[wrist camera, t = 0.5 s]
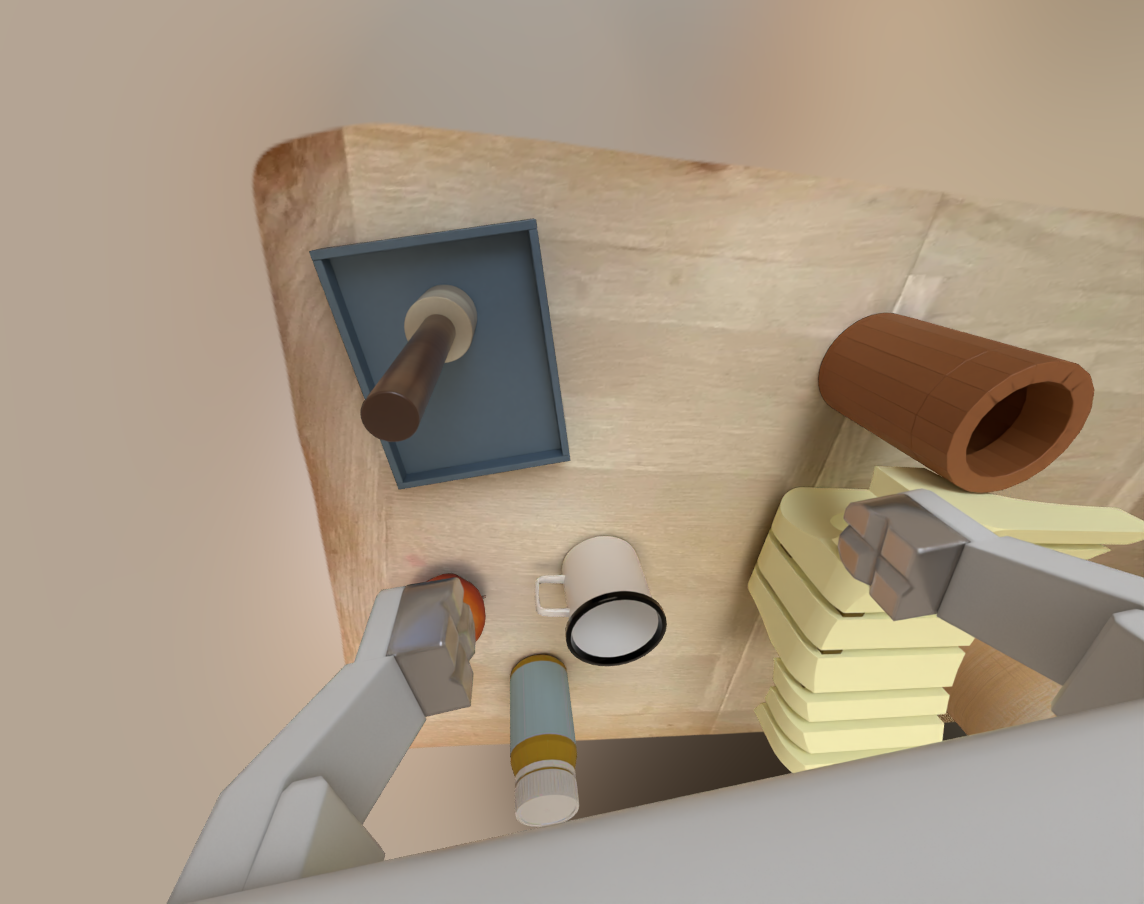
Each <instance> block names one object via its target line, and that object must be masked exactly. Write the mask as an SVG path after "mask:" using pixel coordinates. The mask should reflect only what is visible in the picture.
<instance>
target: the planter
mask: <svg viewBox="0 0 1144 904" xmlns="http://www.w3.org/2000/svg"><path fill="white" fill-rule="evenodd" d="M958 647H959V648H960V649H961V650H963V651H964V652H965V655H964V657H963V660H962V662H961V664H960V666H959V668H958V671H957V673H956V676H955V679H954V682H953V685H952V686H951V687H942V688H943V689H944V690H945V691H946V692H947V693H948V694H949V695H950V696H949V700H948V705H947V710H946V711H947V712H948V714H949V715H950V716H951V717H952V718H953V719H954V720H955V721H956V723H957V724H958V725H959V726H960V727H961V728H962V729H963V730H964V732H965V733H966V734H967V735H973V734H978V733H983V732H987V731H992V730H997V729H1001V728H1006V727H1011V726H1015V725H1020V724H1025V723H1029V722H1034V721H1039V720H1043V719H1048V718H1053V717H1057V716H1056V715H1055V714H1054V713H1053V712H1052V711H1051V702H1052V701H1053V699H1054V698H1055V696H1056V695H1057V693H1058V692H1059V690H1060V689H1061V688H1062V685H1060V684H1058V683H1056V682H1054V681H1053V680H1051V679H1049V678H1047V677H1045V676H1043V675H1042V674H1040V673H1038V672H1036V671H1034V670H1033V669H1031V668H1029V667H1027V666H1025V665H1024V664H1022V663H1020V662H1018V661H1016V660H1014V659H1013V658H1011V657H1009V656H1007V655H1005V654H1004V653H1002V652H1000V651H998V650H996V649H995V648H993V647H991V646H989V645H987V644H985V643H984V642H982V641H980V640H978V639H976V638H975V639H974V640H973V642H972V643H971V645H970V646H958Z"/></svg>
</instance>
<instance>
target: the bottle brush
mask: <svg viewBox="0 0 1144 904" xmlns="http://www.w3.org/2000/svg"><path fill="white" fill-rule="evenodd" d="M476 323H477V311H476V307H475V305H474V303H473V301H472V299H471V298H470V297H469V296H468V295H467V294H466V293H465V292H464V291H463V290H461V289H459V288H457V287H455V286H452V285H437V286H434V287H432V288H430V289H428V290H427V291H426V292H425V293H424V294H423V295H422V296H421V297H420V298H419V299H418V300H417V301H416V302H415V303H414V304H413V305H412V306H411V307H410V309H409V310H408V312H407V314H406V317H405V322H404V330H405V335H406V338H407V340H408V343H407V344H406V345H405V347H404V348H403V349H402V351H401V352H400V353H399V355H398V356H397V358H396V359H395V360H394V362H393V363H392V364H391V366H390V367H389V368H388V370H387V371H386V372H385V374H384V375H383V376H382V378H381V379H380V380H379V382H378V383H377V384H376V386H375V387H374V388H373V390H372V391H371V393H370V394H369V395H368V397H367V398H366V399H365V401H364V402H363V404H362V407H361V419H362V422H363V424H364V426H365V428H366V429H367V430H368V431H369V432H370V433H371V434H372V435H373V436H375V437H377V438H379V439H381V440H384V441H388V442H399V441H403V440H406V439H408V438H410V437H411V436H412V435H413V434H414V433H415V432H416V431H417V429H418V427H419V424H420V422H421V419H422V417H423V414H424V412H425V409H426V407H427V405H428V402H429V400H430V397H431V395H432V392H433V390H434V388H435V385H436V383H437V380H438V378H439V375H440V373H441V370H442V368H443V366H444V363H448V362H452V361H455V360H457V359H459V358H460V357H462V356H463V355H464V354H465V353H466V352H467V350H468V349H469V347H470V345H471V342H472V338H473V335H474V331H475V327H476Z"/></svg>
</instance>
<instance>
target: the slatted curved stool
mask: <svg viewBox="0 0 1144 904" xmlns="http://www.w3.org/2000/svg"><path fill="white" fill-rule="evenodd" d="M921 488H923V489H926V490H930V491H932V492H934V493H935V494H937V495H938V496H940V497H941V498H943V499H944V500H946V501H947V502H949V503H950V504H952V505H953V506H954V507H956V508H957V509H959V510H960V511H962V512H963V513H965V514H966V515H968V516H969V517H971V518H972V519H974V520H975V521H977V522H978V523H980V524H981V525H983V526H984V527H985V528H987V529H988V530H990V531H991V532H993V533H994V534H996V535H997V536H999V537H1003V536H1010V537H1013V538H1016V539H1020V540H1023V541H1026V542H1029V543H1032V544H1036V545H1039V546H1042V547H1045V548H1049V549H1052V550H1055V551H1058V552H1062V553H1065V554H1068V555H1071V556H1075V557H1078V558H1081V559H1084V560H1087V559H1090V558H1092V557H1095V556H1098V555H1100V554H1103V553H1105V552H1108V551H1111V550H1110V549H1108V548H1107V547H1105V546H1103V545H1101V544H1131V543H1135V542H1138V541H1141V540H1144V521H1143V520H1141V519H1139V518H1137V517H1135V516H1133V515H1130V514H1128V513H1126V512H1124V511H1122V510H1120V509H1118V508H1110V507H1090V506H1075V505H1062V504H1052V503H1042V502H1034V501H1027V500H1020V499H1014V498H1009V497H1003V496H999V495H994V494H990V493H977V492H968V491H965V490H963V489H962V488H960V487H958V486H957V485H955V484H953V483H952V482H950V481H949V480H947V479H945V478H944V477H942V476H939V475H937V474H935V473H933V472H931V471H929V470H927V469H925V468H910V467H888V466H875V469H874V473H873V477H872V481H871V484H870V488H869V489H842V488H813V487H798V488H794V489H792V490H790V491H789V492H787V493H786V494H785V495H784V497H783V498H782V501H781V503H780V506H779V508H778V511H777V513H776V516H775V518H774V520H773V523H772V527H771V528H770V530H769V533H768V535H767V538H766V540H765V543H764V545H763V548H762V550H761V553H760V555H759V558H758V561H757V563H756V565H755V568H754V570H753V573H752V575H751V578H750V580H749V582H748V589H749V592H750V594H751V596H752V598H753V599H754V601H755V603H756V605H757V607H758V610H759V612H760V615H761V617H762V619H763V622H764V625H765V627H766V630H767V633H768V636H769V639H770V641H771V643H772V645H773V646H774V648H775V650H776V651H777V653H778V655H779V656H780V658H774V671H773V678H772V679H773V681H774V683H775V685H776V686H773V687H770V689H769V691H768V693H767V695H766V697H765V700H766V702H767V703H761V704H760V705H759V706H758V707H756V708H755V709H754V712H755V714H756V716H757V718H758V720H759V722H760V724H761V726H762V728H763V730H764V733H765V735H766V737H767V739H768V741H769V743H770V745H771V747H772V749H773V751H774V752H775V754H776V755H777V757H778V758H779V759H780V761H781V762H782V763H783V764H784V765H785V766H786V767H787V768H788V769H789V770H790V771H791V772H792V773H795V772H800V771H805V770H809V769H814V768H819V767H823V766H828V765H833V764H837V763H842V762H847V761H852V760H856V759H861V758H866V757H870V756H875V755H880V754H884V753H889V752H894V751H898V750H903V749H908V748H912V747H917V746H922V745H926V744H931V743H936V742H940V741H942V739H943V730H944V723H943V722H942V721H941V719H940V718H939V717H938V716H937V715H938V714H946V710H947V705H948V700H949V696H950V695H949V694H948V693H947V692H946V691H945V690H944V689H943V688H942V687H951V686H952V685H953V682H954V679H955V676H956V673H957V671H958V668H959V666H960V664H961V662H962V660H963V657H964V655H965V652H964V651H963V650H961V649H960V648H959V647H958V646H970V645H971V643H972V642H973V640H974V639H975V637H973V636H971V635H969V634H967V633H966V632H964V631H962V630H960V629H958V628H956V627H955V626H953V625H951V624H949V623H947V622H946V621H944V620H942V619H940V618H938V617H937V616H936V615H937V614H933V615H927V616H922V617H916V618H910V619H904V620H898V621H893V620H892V619H891V618H890V617H889V616H888V615H887V614H886V612H885V611H884V610H883V609H882V608H881V607H880V606H879V605H878V604H877V603H876V602H875V601H874V600H873V598H872V597H871V596H870V595H869V585H867V584H865V583H863V582H861V581H858V580H856V579H854V578H853V577H852V576H851V574H850V573H849V572H848V571H847V570H846V568H845V567H844V565H843V563H842V561H841V559H840V555H839V551H838V541H839V535H840V534H841V533H842V532H843V531H844V529H845V528H846V527H847V526H848V524H847V523H846V521H845V520H844V519H843V517H844V513H845V509H846V507H847V506H848V505H849V504H850V503H852V502H857V501H862V500H867V499H872V498H877V497H882V496H887V495H892V494H897V493H901V492H906V491H911V490H916V489H921Z"/></svg>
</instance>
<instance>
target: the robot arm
mask: <svg viewBox="0 0 1144 904" xmlns="http://www.w3.org/2000/svg"><path fill="white" fill-rule="evenodd" d="M843 519H844V520H845V521H846V523H847V524H848V526H847V527H846V528H845V529H844V531H843V532H842V533H841V534H840V535H839V541H838V551H839V555H840V559H841V561H842V563H843V565H844V567H845V568H846V570H847V571H848V572H849V573H850V574H851V576H852V577H853V578H854V579H856V580H858V581H861V582H863V583H865V584H867V585H869V595H870V596H871V597H872V598H873V600H874V601H875V602H876V603H877V604H878V605H879V606H880V607H881V608H882V609H883V610H884V611H885V612H886V614H887V615H888V616H889V617H890V618H891V619H892V620H893V621H898V620H904V619H910V618H916V617H922V616H927V615H933V614H937V615H936V616H937V617H938V618H940V619H942V620H944V621H946V622H947V623H949V624H951V625H953V626H955V627H956V628H958V629H960V630H962V631H964V632H966V633H967V634H969V635H971V636H973V637H975V638H976V639H978V640H980V641H982V642H984V643H985V644H987V645H989V646H991V647H993V648H995V649H996V650H998V651H1000V652H1002V653H1004V654H1005V655H1007V656H1009V657H1011V658H1013V659H1014V660H1016V661H1018V662H1020V663H1022V664H1024V665H1025V666H1027V667H1029V668H1031V669H1033V670H1034V671H1036V672H1038V673H1040V674H1042V675H1043V676H1045V677H1047V678H1049V679H1051V680H1053V681H1054V682H1056V683H1058V684H1060V685H1062V688H1061V689H1060V690H1059V692H1058V693H1057V695H1056V696H1055V698H1054V699H1053V701H1052V702H1051V711H1052V712H1053V713H1054V714H1055V715H1056V716H1057V717H1053V718H1048V719H1043V720H1039V721H1034V722H1029V723H1025V724H1020V725H1015V726H1011V727H1006V728H1001V729H997V730H992V731H987V732H983V733H978V734H973V735H968V736H964V737H959V738H954V739H950V740H945V741H940V742H936V743H931V744H926V745H922V746H917V747H912V748H908V749H903V750H898V751H894V752H889V753H884V754H880V755H875V756H870V757H866V758H861V759H856V760H852V761H847V762H842V763H837V764H833V765H828V766H823V767H819V768H814V769H809V770H805V771H800V772H795V773H791V774H786V775H781V776H777V777H772V778H768V779H763V780H758V781H754V782H749V783H744V784H740V785H735V786H730V787H725V788H721V789H716V790H712V791H707V792H702V793H697V794H693V795H688V796H683V797H679V798H674V799H669V800H665V801H660V802H656V803H651V804H646V805H642V806H637V807H632V808H628V809H623V810H618V811H614V812H609V813H604V814H600V815H595V816H591V817H586V818H581V819H576V820H572V821H568V822H562V823H558V824H553V825H548V826H544V827H539V828H534V829H530V830H525V831H521V832H516V833H511V834H506V835H502V836H498V837H493V838H488V839H483V840H479V841H475V842H469V843H465V844H460V845H455V846H451V847H446V848H442V849H437V850H432V851H427V852H423V853H418V854H413V855H409V856H404V857H399V858H395V859H390V860H385V861H384V857H385V853H384V851H383V850H382V848H381V847H380V845H379V844H378V843H377V842H376V840H375V839H374V838H373V837H372V836H371V834H370V833H369V832H368V831H367V830H366V828H365V827H364V826H363V825H362V824H363V822H364V821H365V819H366V818H367V816H368V814H369V812H370V811H371V809H372V808H373V806H374V804H375V803H376V801H377V800H378V798H379V796H380V795H381V793H382V791H383V790H384V788H385V786H386V785H387V783H388V782H389V780H390V778H391V777H392V775H393V773H394V772H395V770H396V768H397V767H398V765H399V763H400V762H401V760H402V759H403V757H404V755H405V754H406V752H407V750H408V749H409V747H410V746H411V744H412V742H413V741H414V739H415V737H416V736H417V734H418V732H419V731H420V729H421V727H422V726H423V724H424V723H425V721H426V718H425V717H427V716H431V715H435V714H440V713H444V712H448V711H453V710H457V709H461V708H466V707H470V706H471V698H472V686H473V671H472V668H471V666H470V663H469V660H470V659H471V658H472V656H473V655H474V653H475V643H476V638H475V624H474V620H473V615H472V612H471V609H470V606H469V605H468V604H466V603H464V602H463V595H464V589H463V587H462V584H461V582H460V579H459V578H457V577H454V578H447V579H441V580H435V581H429V582H423V583H417V584H411V585H407V586H403V587H396V588H390V589H383V590H381V591H380V592H379V594H378V595H377V596H376V599H375V602H374V605H373V607H372V610H371V613H370V616H369V619H368V622H367V625H366V628H365V631H364V634H363V637H362V640H361V643H360V646H359V649H358V652H357V655H356V658H355V661H354V663H351V664H346V665H345V666H344V667H343V668H342V669H341V670H340V671H339V672H338V673H337V674H336V675H335V676H334V677H333V678H332V679H331V680H330V681H329V682H328V683H327V685H325V686H324V688H322V690H321V691H320V692H319V693H318V694H317V695H316V696H315V697H314V698H313V699H312V700H311V701H310V702H309V703H308V704H307V705H306V706H305V707H304V708H303V709H302V710H301V711H300V712H299V713H298V714H297V715H296V716H295V718H293V719H292V720H291V721H290V722H289V723H288V724H287V726H286V727H285V728H284V729H283V730H282V731H281V732H280V733H279V734H278V735H277V736H276V737H275V738H274V739H273V740H272V741H271V742H270V743H269V744H268V745H267V746H266V747H265V748H264V749H263V750H262V751H261V752H260V753H259V754H258V755H257V756H256V757H255V758H254V759H253V760H252V761H251V762H250V764H249V765H248V766H247V767H246V768H245V769H244V770H243V771H242V772H241V773H240V774H239V775H238V776H237V777H236V778H235V779H234V780H233V781H232V782H231V783H230V784H229V785H228V786H227V787H226V788H225V789H224V790H223V791H222V792H221V793H220V795H219V797H218V800H217V802H216V804H215V806H214V808H213V810H212V812H211V814H210V816H209V818H208V820H207V822H206V824H205V826H204V828H203V830H202V832H201V834H200V836H199V838H198V841H197V842H196V845H195V847H194V849H193V851H192V853H191V855H190V857H189V859H188V861H187V863H186V865H185V867H184V869H183V871H182V873H181V875H180V877H179V879H178V882H177V884H176V885H175V887H174V890H173V892H172V894H171V896H170V898H169V900H168V902H167V904H1144V578H1143V577H1139V576H1136V575H1133V574H1130V573H1126V572H1123V571H1120V570H1117V569H1113V568H1110V567H1107V566H1104V565H1100V564H1097V563H1094V562H1091V561H1087V560H1084V559H1081V558H1078V557H1075V556H1071V555H1068V554H1065V553H1062V552H1058V551H1055V550H1052V549H1049V548H1045V547H1042V546H1039V545H1036V544H1032V543H1029V542H1026V541H1023V540H1020V539H1016V538H1013V537H1010V536H1003V537H999V536H997V535H996V534H994V533H993V532H991V531H990V530H988V529H987V528H985V527H984V526H983V525H981V524H980V523H978V522H977V521H975V520H974V519H972V518H971V517H969V516H968V515H966V514H965V513H963V512H962V511H960V510H959V509H957V508H956V507H954V506H953V505H952V504H950V503H949V502H947V501H946V500H944V499H943V498H941V497H940V496H938V495H937V494H935V493H934V492H932V491H930V490H926V489H923V488H921V489H916V490H911V491H906V492H901V493H897V494H892V495H887V496H882V497H877V498H872V499H867V500H862V501H857V502H852V503H850V504H849V505H848V506H847V507H846V509H845V513H844V517H843Z"/></svg>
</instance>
